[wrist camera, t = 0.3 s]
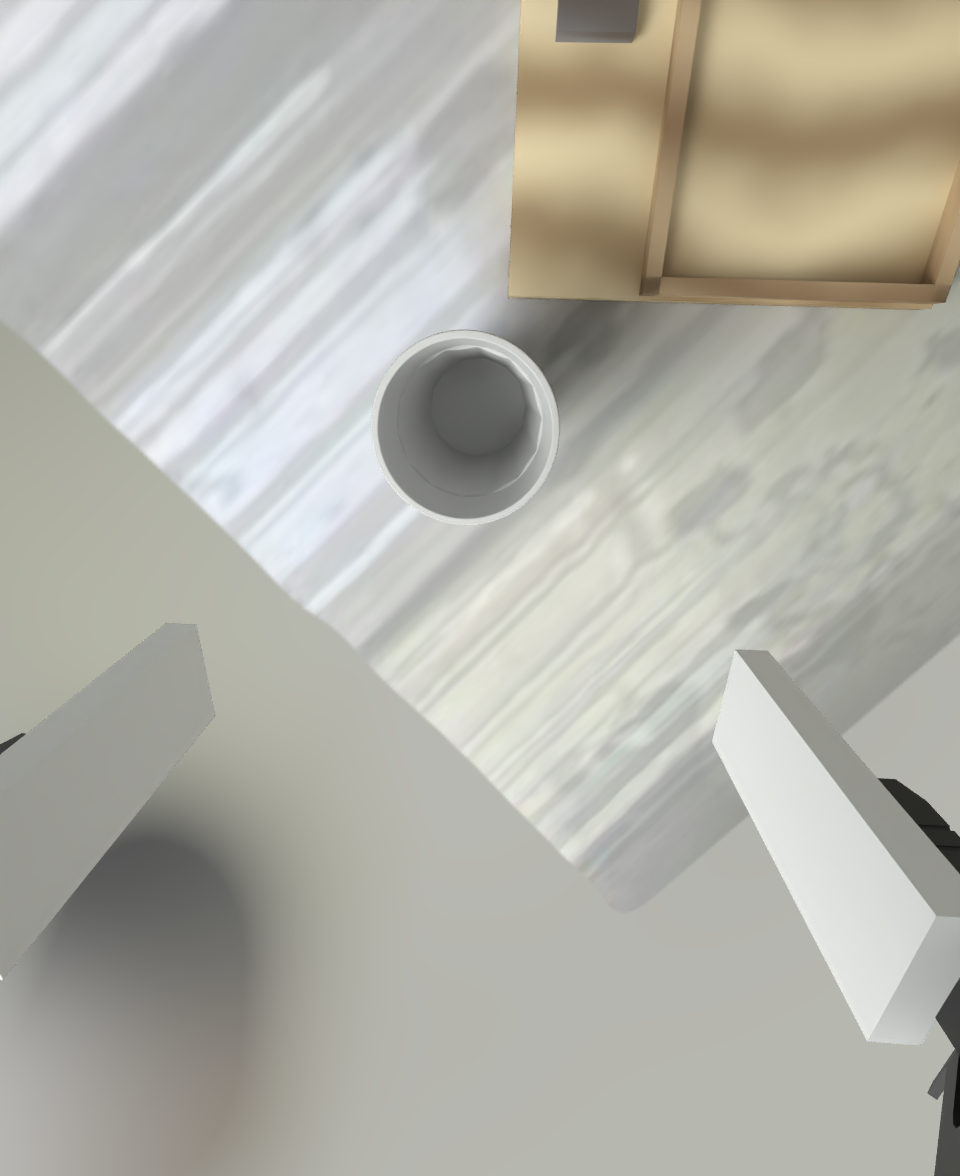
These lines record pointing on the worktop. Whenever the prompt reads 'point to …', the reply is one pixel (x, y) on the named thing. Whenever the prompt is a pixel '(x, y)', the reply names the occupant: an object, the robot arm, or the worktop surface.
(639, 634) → the worktop surface
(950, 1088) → the robot arm
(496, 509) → the cup
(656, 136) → the board
